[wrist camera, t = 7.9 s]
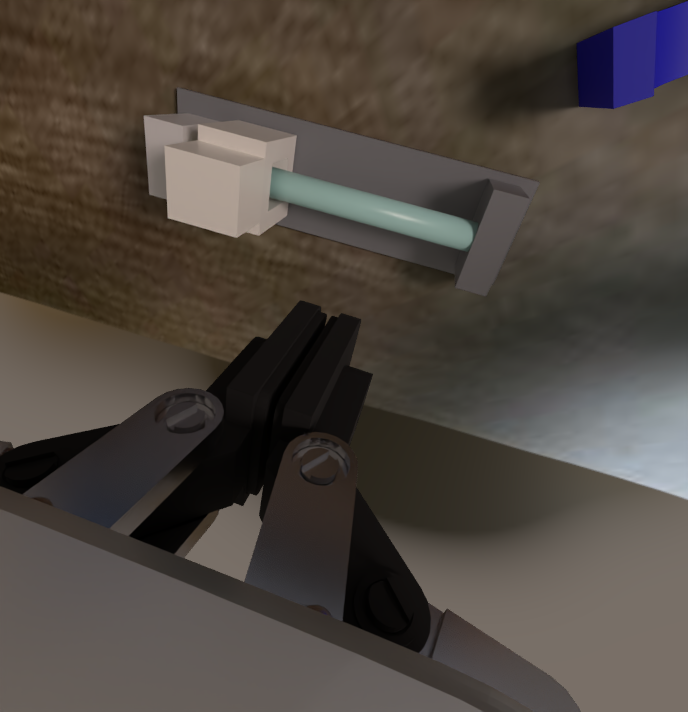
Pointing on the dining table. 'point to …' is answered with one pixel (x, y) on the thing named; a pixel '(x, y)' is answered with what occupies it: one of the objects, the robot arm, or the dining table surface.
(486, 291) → the threaded rod slide
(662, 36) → the blue curved block
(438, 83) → the dining table surface
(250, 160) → the sleeve
